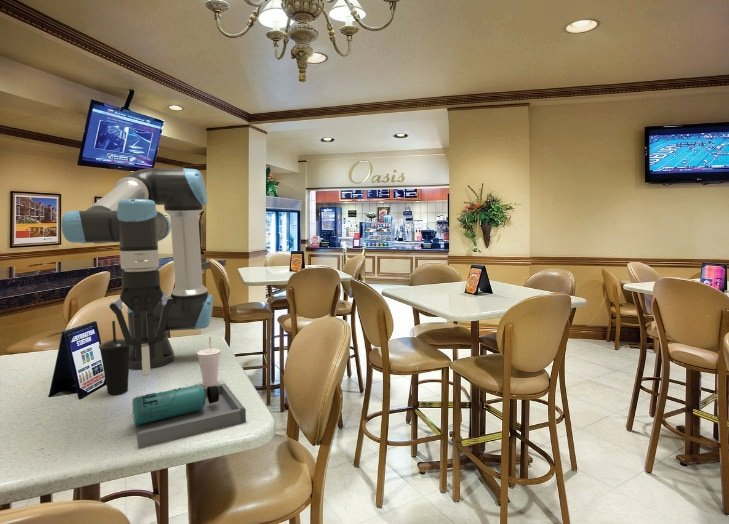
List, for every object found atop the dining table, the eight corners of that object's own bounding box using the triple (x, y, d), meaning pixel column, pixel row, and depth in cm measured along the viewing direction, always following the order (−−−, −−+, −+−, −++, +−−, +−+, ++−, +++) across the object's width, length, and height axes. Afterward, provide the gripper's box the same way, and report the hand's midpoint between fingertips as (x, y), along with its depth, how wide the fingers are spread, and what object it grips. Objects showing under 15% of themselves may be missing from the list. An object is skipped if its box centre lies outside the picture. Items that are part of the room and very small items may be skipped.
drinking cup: (109, 399, 113) (104, 325, 112) (97, 393, 118) (92, 322, 116) (138, 390, 119) (134, 320, 118) (126, 385, 124) (121, 317, 122)
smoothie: (214, 389, 120) (212, 340, 119) (193, 387, 121) (191, 339, 120) (226, 381, 126) (224, 334, 125) (206, 379, 127) (204, 333, 126)
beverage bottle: (127, 432, 96) (218, 411, 107) (128, 422, 92) (223, 400, 103) (124, 404, 99) (212, 386, 110) (125, 393, 95) (217, 375, 106)
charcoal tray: (133, 413, 105) (133, 401, 104) (225, 394, 116) (225, 383, 116) (139, 448, 88) (138, 434, 87) (246, 421, 99) (245, 409, 99)
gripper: (106, 272, 88) (113, 384, 90) (174, 269, 95) (179, 372, 97) (106, 270, 95) (112, 373, 96) (170, 266, 101) (175, 363, 103)
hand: (146, 373), depth 97 cm, fingers closed
